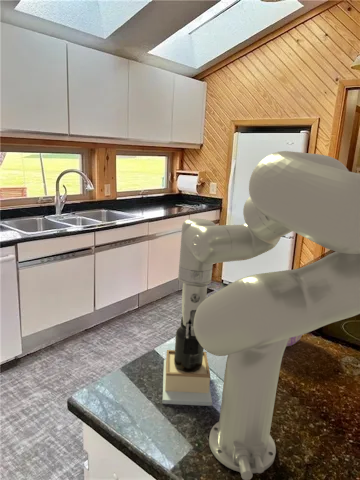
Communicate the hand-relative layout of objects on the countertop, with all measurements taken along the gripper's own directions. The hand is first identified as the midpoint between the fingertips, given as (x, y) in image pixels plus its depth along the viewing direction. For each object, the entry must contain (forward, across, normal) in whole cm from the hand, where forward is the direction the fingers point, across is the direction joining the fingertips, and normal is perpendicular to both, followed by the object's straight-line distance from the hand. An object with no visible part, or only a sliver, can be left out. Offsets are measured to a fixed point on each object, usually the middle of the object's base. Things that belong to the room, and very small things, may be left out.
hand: (189, 342), depth 83 cm
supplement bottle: (+6, 0, 0) cm, 6 cm away
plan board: (+11, 0, 0) cm, 11 cm away
